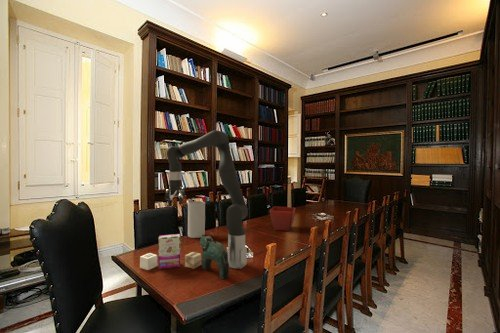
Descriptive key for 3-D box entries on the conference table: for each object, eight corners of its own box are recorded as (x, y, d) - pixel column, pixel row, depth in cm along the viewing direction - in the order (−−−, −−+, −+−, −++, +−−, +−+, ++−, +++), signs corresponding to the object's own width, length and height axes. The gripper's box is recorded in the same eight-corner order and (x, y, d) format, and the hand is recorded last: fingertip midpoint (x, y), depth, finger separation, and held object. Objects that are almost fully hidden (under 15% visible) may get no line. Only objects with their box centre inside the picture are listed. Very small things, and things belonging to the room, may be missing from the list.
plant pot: (269, 230, 202) (269, 210, 202) (273, 225, 220) (273, 206, 220) (292, 232, 197) (292, 211, 196) (295, 226, 215) (295, 207, 215)
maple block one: (201, 264, 134) (201, 253, 134) (193, 268, 129) (193, 257, 129) (192, 262, 137) (192, 251, 137) (184, 266, 132) (184, 255, 132)
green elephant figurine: (198, 268, 130) (198, 230, 129) (208, 264, 134) (208, 228, 134) (221, 281, 116) (222, 239, 115) (232, 277, 120) (232, 236, 120)
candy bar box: (180, 263, 136) (180, 233, 135) (180, 267, 131) (180, 236, 130) (158, 265, 133) (159, 235, 132) (158, 269, 128) (158, 237, 127)
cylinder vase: (202, 238, 180) (203, 204, 179) (185, 238, 180) (185, 203, 180) (206, 233, 192) (206, 201, 192) (190, 233, 193) (190, 201, 192)
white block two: (157, 266, 132) (157, 254, 132) (147, 270, 127) (147, 258, 127) (149, 263, 135) (149, 252, 135) (139, 267, 130) (140, 256, 129)
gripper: (171, 180, 144) (171, 207, 145) (188, 178, 157) (188, 204, 157) (162, 179, 148) (162, 206, 148) (179, 178, 160) (179, 203, 161)
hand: (175, 205), depth 153 cm, fingers open, 8 cm apart
